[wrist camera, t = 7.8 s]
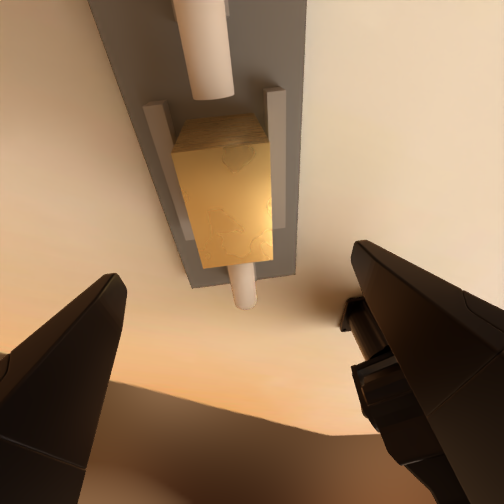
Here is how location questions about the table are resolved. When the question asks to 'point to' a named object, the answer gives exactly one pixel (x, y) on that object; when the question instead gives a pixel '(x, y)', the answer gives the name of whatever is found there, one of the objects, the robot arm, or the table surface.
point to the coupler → (226, 188)
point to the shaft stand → (213, 103)
